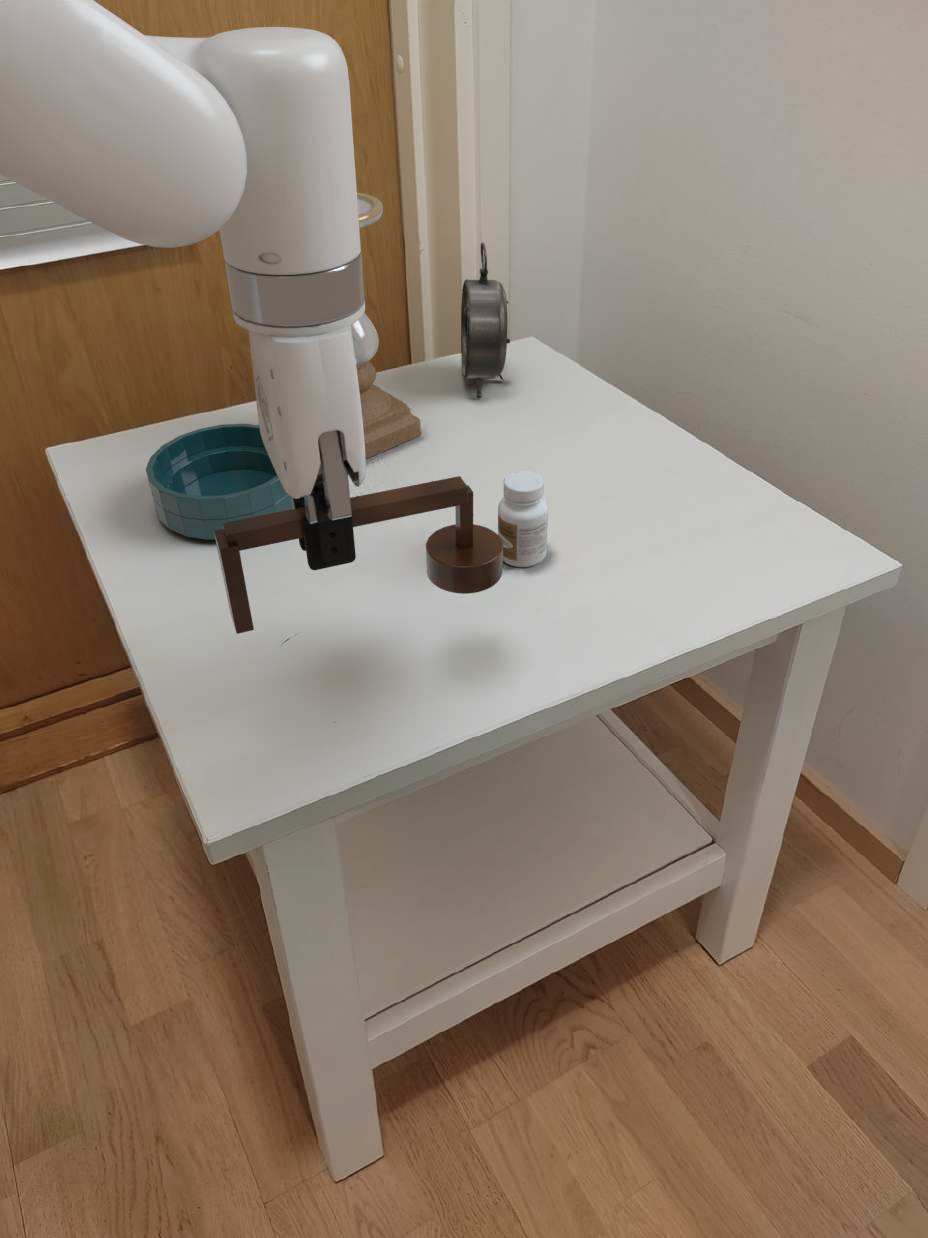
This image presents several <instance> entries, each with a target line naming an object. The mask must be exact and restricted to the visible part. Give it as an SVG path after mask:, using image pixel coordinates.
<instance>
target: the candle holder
mask: <svg viewBox="0 0 928 1238" xmlns="http://www.w3.org/2000/svg"><path fill="white" fill-rule="evenodd" d="M357 203H358V217H359V229H363V228H365V227H368V226H371V225H373V224H374V223H376V222H378V221H379V220H380V219H381V217H382V215H383V213H384V212H383V211H384V206H383V203H382V201H380V200H379V198H378V197H375V196H373V195H370V194H367V193H363V192H357ZM351 331H352V338H353V345H354V352H355V358H356V360H357V364H356V367H357V375H358V383H359V392H360V400H361V410H362V419H363V430H364V441H365V457H366V460H367V459H369V458H372V457H374V456H376V455H379V454H381V453H383V452H385V451H388V450H391V449H393V448H395V447H397V446H399V445H402V444H404V443H406V442H408V441H411V440H413V439H415V438H417V437H419V436H420V435H421V434H422V429H421V428H422V427H421V419H420V418H419V417H418V416H416V415H415V414H413V413H411V407H409V406H408V404H407V403H405V402H404V401H402V400H400V399H399V398H397V397H396V396H393V395H392V394H390V393H388V392H387V391H385V390H383V389H382V388H381V387H379V386H377V385H376V384H375V381H376V379H377V371H376V368H375V366H374V365H373V364H372V362H371V361H370V360H372V359H373V358H374V356H375V355H376V353H377V352H378V350H379V345H380V338H379V334H378V331H377V329H376V327H375V325H374V324H373V322H372V320H371V319H370V318H369V317H368V315H367V314H366V312H365V313H364V315H363V316H362V317H361V318H360V319H359V320H358V321H356V322H355V323H353V324H351Z"/></svg>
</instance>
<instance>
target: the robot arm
mask: <svg viewBox="0 0 928 1238" xmlns="http://www.w3.org/2000/svg"><path fill="white" fill-rule="evenodd" d="M351 102H352V101H351V89H350V78H349V69H348V63H347V60H346V57H345V54H344V51H343V49H342V48H341V46H340V45H339V43H338V42H337V41H336V40H335V38H333V37H331V36H330V35H328V34H326V33H324V32H322V31H320V30H319V31H318V30H315V29H310V28H303V27H293V26H292V27H291V26H260V27H259V26H258V27H247V28H239V29H233V30H228V31H223V32H219V33H216V34H214V35H212V36H210V37H181V36H180V37H179V36H176V37H175V36H159V35H158V36H156V35H145V34H143V33H142V32H140V31H139V30H137V28H134V27H133V26H132V25H130V24H129V23H127V22H126V21H125V20H123V19H121V18H120V17H119V16H117V15H116V14H114V13H113V12H112V11H110V10H108V9H107V8H106V7H104V6H103V5H101V4H99V3H98V2H97V1H95V0H0V176H2V177H4V178H6V179H7V180H9V181H12V182H14V183H16V184H17V185H19V186H21V187H23V188H25V189H27V190H29V191H30V192H32V193H35V194H36V195H38V196H41V197H43V198H44V199H46V200H48V201H50V202H52V203H53V204H55V205H58V206H59V207H61V208H63V209H65V210H67V211H68V212H71V213H72V214H75V215H77V216H78V217H80V218H82V219H84V220H86V221H88V222H90V223H91V224H94V225H96V226H98V227H100V228H102V229H103V230H105V231H108V232H110V233H112V234H114V235H116V236H118V237H121V238H122V239H125V240H127V241H130V242H133V243H135V244H139V245H145V246H148V247H153V248H163V249H164V248H165V249H167V248H168V249H174V248H180V247H187V246H191V245H194V244H196V243H200V242H202V241H205V240H206V239H208V238H209V237H211V236H213V235H214V234H215V233H216V232H218V231H219V237H220V241H221V242H220V243H221V247H222V255H223V260H224V261H223V262H224V267H225V272H226V280H227V285H228V291H229V293H228V294H229V298H230V306H231V311H232V312H231V313H232V318H233V320H234V322H235V324H236V325H237V326H239V327H240V328H242V329H244V330H246V331H248V338H249V348H250V358H251V367H252V375H253V376H252V377H253V384H254V392H255V401H256V410H257V418H258V425H259V428H260V433H261V437H262V441H263V443H264V446H265V448H266V451H267V453H268V455H269V458H270V460H271V462H272V464H273V467H274V469H275V471H276V473H277V475H278V478H279V480H280V482H281V484H282V486H283V488H284V490H285V491H286V493H287V494H289V495H290V496H291V497H293V498H294V499H293V501H294V508H295V509H296V508H301V507H305V511H306V516H305V517H302V524H303V531H304V538H299V539H298V542H299V547H300V549H301V551H303V552H305V553H306V559H307V560H306V561H307V565H308V568H309V569H310V570H311V571H319V570H323V569H329V568H332V567H338V566H342V565H347V564H350V563H353V562H355V560H356V559H357V554H356V543H355V533H354V527H353V521H352V511H351V503H350V498H351V493H350V483H349V482H350V481H349V479H350V480H351V482H352V484H354V486H355V487H357V488H358V487H360V486H361V485H362V484H363V483H364V482H365V480H366V476H367V475H366V474H367V461H366V460H367V459H366V457H365V441H364V430H363V419H362V410H361V400H360V392H359V383H358V375H357V367H356V364H357V360H356V358H355V352H354V345H353V338H352V331H351V324H353V323H355V322H356V321H358V320H359V319H360V318H361V317H362V316H363V315H364V313H365V314H366V297H365V285H364V271H363V268H364V267H363V256H362V255H363V254H362V248H361V234H360V233H361V231H360V228H359V217H358V203H357V193H358V190H357V175H356V161H355V147H354V133H353V132H354V131H353V116H352V103H351ZM300 496H303V497H300Z"/></svg>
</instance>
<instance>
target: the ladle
mask: <svg viewBox="0 0 928 1238" xmlns="http://www.w3.org/2000/svg"><path fill="white" fill-rule="evenodd" d="M350 503H351V511H352V521H353V528H356V527H362V526H366V525H371V524H376V523H381V522H387V521H390V520H395V519H400V518H405V517H410V516H414V515H420V514H424V513H429V512H433V511H438V510H444V509H448V508H452V507H455V508H454V509H455V524H450V525H447V526H443V527H441V528H439V529H437V530H435V531H434V532H432V533H431V534H430V536H429V537H428V538H427V541H426V543H425V559H426V561H425V562H426V575H427V577H428V579H429V581H430V582H431V583H432V584H433V585H434V586H436V587H437V588H438V589H440V590H443V591H444V592H449V593H453V594H461V595H465V594H468V595H469V594H476V593H480V592H484V591H486V590H489V589H491V588H492V587H494V586H495V585H496V584H497V583H498V582H499V581H500V580H501V578H502V576H503V569H504V568H503V567H504V561H503V542H502V540H501V538H500V537H499V536H498V533H497V532H495V531H494V530H492V529H490V528H488V527H486V526H483V525H479V524H474V491H473V489H472V488H471V487H470V485H468V484H466V482H465V481H464V480H463V478H462V477H461V476H460V475H459V476H458V475H457V476H452V477H448V478H443V479H438V480H433V481H427V482H423V483H418V484H413V485H408V486H402V487H398V488H391V489H386V490H382V491H377V492H372V493H367V494H363V495H357V496H352V497H350ZM305 516H306V511H305V507H301V508H296V509H291V510H286V511H281V512H276V513H271V514H266V515H261V516H256V517H251V518H246V519H241V520H236V521H231V522H226V523H223V529H219V530H214V535H215V539H214V540H215V544H216V549H217V554H218V559H219V564H220V570H221V574H222V578H223V579H222V580H223V584H224V589H225V593H226V598H227V603H228V608H229V613H230V616H231V620H232V624H233V627H234V630H235V634H237V635H239V634H244V633H247V632H251V631H255V628H254V622H253V618H252V612H251V606H250V605H251V604H250V600H249V595H248V591H247V584H246V579H245V574H244V567H243V563H242V557H241V552H240V551H246V550H250V549H256V548H260V547H265V546H269V545H275V544H280V543H285V542H288V541H295V540H299V538H304V531H303V524H302V517H305Z"/></svg>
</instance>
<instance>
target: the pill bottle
mask: <svg viewBox="0 0 928 1238" xmlns="http://www.w3.org/2000/svg"><path fill="white" fill-rule="evenodd" d="M544 486H545V482H544V479H543V477H542V476H541V475H540V474H538V473H536V472H534V471H529V470H518V471H513V472H511V473H509V474H507V475H506V476H505V477H504V479H503V497H502V498H501V499H500V501H499V502H498V506H497V534H498V536H499V537H500V538H501V540H502V542H503V563H505V564H507V565H510V566H512V567H517V568H529V567H533V566H535V565H538V564H540V563H541V562H542V561H544V559H545V558H546V556H547V552H548V529H549V528H548V526H549V505H548V502H547V500H546V499H545V498H544V493H545V490H544V489H545V487H544Z"/></svg>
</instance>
